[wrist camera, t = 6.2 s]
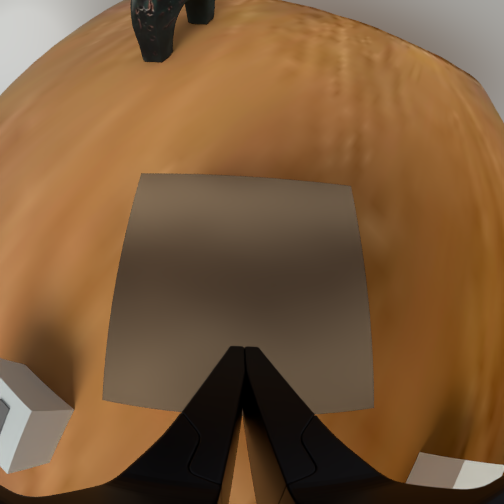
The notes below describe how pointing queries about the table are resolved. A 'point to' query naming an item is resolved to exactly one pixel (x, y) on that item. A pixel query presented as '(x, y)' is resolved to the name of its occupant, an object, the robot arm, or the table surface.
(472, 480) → the offwhite numeral block
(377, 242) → the table surface
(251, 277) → the plain walnut block
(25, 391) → the grey numeral block
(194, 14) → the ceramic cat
